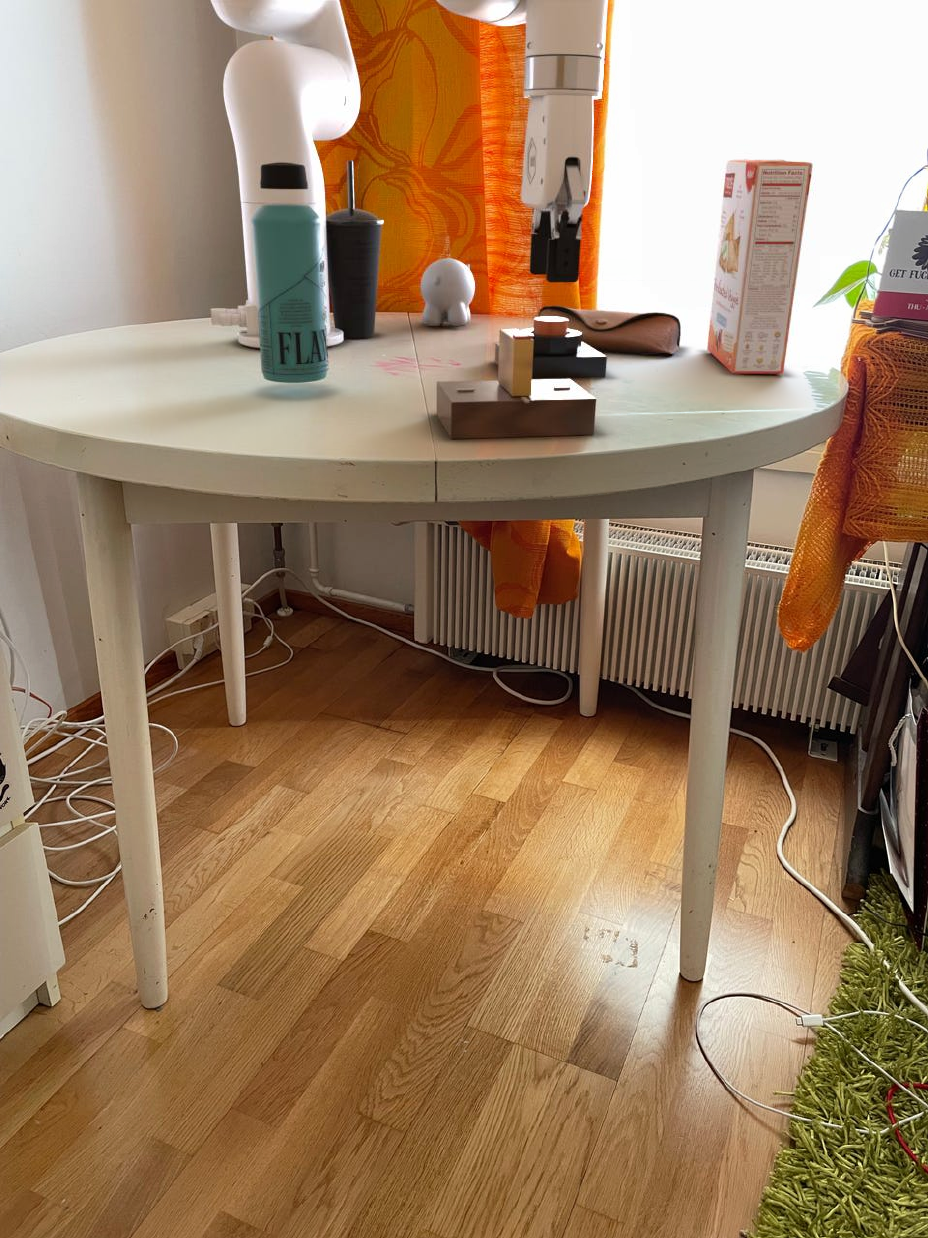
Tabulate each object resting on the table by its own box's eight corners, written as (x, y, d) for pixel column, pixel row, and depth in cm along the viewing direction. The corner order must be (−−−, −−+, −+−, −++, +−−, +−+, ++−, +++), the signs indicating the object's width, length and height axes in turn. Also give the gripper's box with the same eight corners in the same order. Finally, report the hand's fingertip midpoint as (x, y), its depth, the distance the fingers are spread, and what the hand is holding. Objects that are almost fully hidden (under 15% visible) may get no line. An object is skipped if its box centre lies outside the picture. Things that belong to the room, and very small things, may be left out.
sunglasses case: (521, 343, 118) (530, 290, 118) (531, 365, 124) (539, 314, 125) (674, 354, 113) (682, 298, 114) (675, 375, 120) (683, 323, 121)
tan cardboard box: (497, 382, 85) (499, 326, 83) (515, 382, 86) (517, 325, 84) (512, 396, 80) (514, 336, 78) (531, 396, 81) (533, 336, 79)
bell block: (512, 379, 101) (513, 339, 100) (494, 363, 109) (495, 325, 108) (605, 377, 103) (608, 338, 101) (581, 361, 111) (584, 324, 109)
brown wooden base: (452, 441, 79) (453, 402, 78) (435, 413, 88) (435, 377, 86) (597, 437, 81) (599, 399, 80) (565, 410, 90) (567, 374, 88)
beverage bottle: (273, 401, 91) (257, 162, 82) (252, 387, 96) (235, 161, 88) (340, 395, 94) (331, 163, 85) (316, 382, 99) (305, 162, 90)
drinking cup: (375, 342, 121) (372, 161, 112) (316, 339, 122) (308, 160, 113) (392, 332, 127) (390, 161, 119) (335, 329, 129) (329, 160, 120)
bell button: (537, 338, 103) (538, 321, 102) (529, 333, 106) (530, 316, 105) (571, 338, 103) (572, 321, 103) (562, 332, 107) (563, 316, 106)
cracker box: (702, 351, 118) (724, 158, 109) (753, 352, 118) (779, 159, 109) (727, 374, 106) (754, 158, 97) (784, 375, 105) (816, 159, 96)
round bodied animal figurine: (487, 317, 140) (488, 254, 137) (466, 330, 130) (467, 261, 126) (438, 315, 142) (438, 252, 138) (414, 327, 131) (413, 259, 128)
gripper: (506, 85, 102) (500, 269, 109) (547, 73, 86) (537, 288, 94) (576, 87, 103) (566, 269, 111) (629, 75, 88) (613, 287, 95)
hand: (553, 276), depth 102 cm, fingers open, 6 cm apart
